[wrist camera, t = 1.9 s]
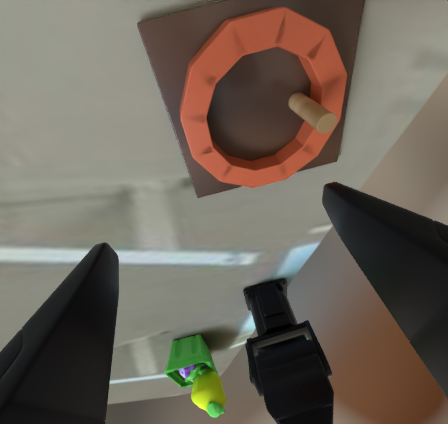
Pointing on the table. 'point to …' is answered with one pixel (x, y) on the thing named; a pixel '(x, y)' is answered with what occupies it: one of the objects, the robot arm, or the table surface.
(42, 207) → the table surface
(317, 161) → the peg stand
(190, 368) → the fruit basket
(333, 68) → the ring
